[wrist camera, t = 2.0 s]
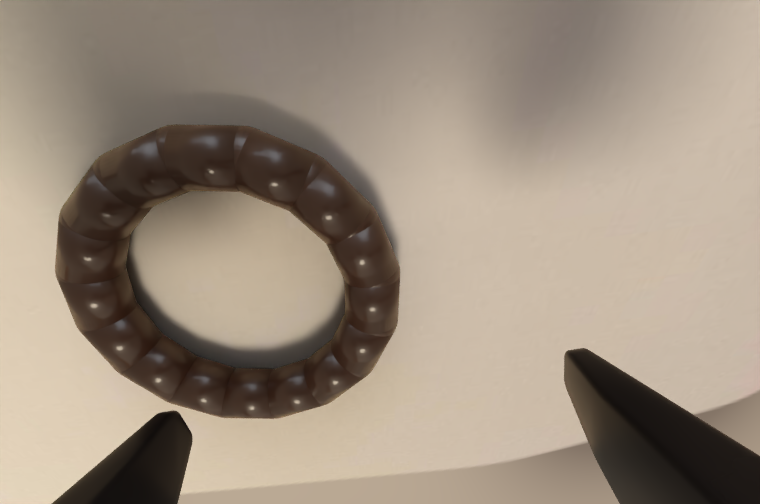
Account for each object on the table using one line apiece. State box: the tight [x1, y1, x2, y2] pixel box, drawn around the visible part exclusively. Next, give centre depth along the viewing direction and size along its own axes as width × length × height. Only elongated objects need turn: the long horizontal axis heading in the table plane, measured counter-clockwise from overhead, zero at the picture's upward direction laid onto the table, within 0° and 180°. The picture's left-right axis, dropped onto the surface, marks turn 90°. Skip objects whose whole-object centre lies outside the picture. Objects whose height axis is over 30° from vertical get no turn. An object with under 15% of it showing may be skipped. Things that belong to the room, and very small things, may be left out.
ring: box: [55, 124, 400, 419], centre depth 15 cm, size 12×12×2 cm
